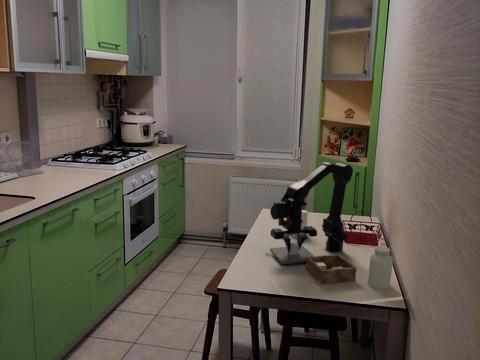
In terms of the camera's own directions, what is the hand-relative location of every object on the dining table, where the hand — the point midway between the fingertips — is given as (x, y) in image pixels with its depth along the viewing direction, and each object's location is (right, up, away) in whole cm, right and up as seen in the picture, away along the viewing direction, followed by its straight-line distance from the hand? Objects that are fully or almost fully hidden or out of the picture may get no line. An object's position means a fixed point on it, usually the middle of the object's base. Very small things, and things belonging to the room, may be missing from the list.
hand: (292, 251), depth 196 cm
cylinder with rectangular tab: (+6, +4, +34) cm, 35 cm away
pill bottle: (+29, -10, -22) cm, 38 cm away
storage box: (+13, -7, -15) cm, 21 cm away
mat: (0, -3, +1) cm, 4 cm away
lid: (0, -2, 0) cm, 2 cm away
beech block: (+16, -7, -16) cm, 24 cm away
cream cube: (+9, -6, -13) cm, 17 cm away
